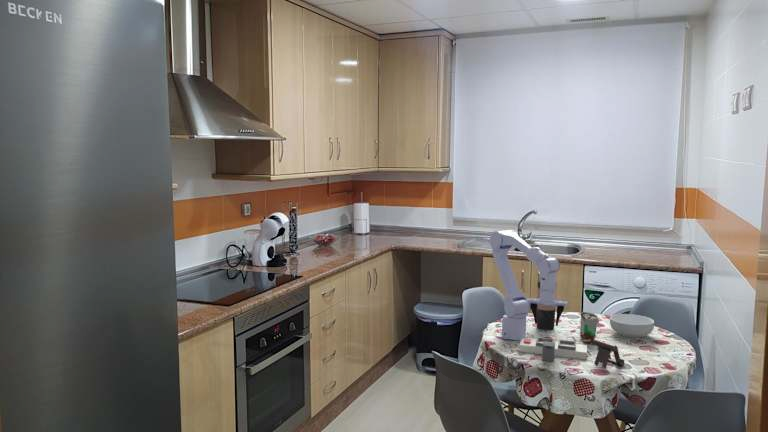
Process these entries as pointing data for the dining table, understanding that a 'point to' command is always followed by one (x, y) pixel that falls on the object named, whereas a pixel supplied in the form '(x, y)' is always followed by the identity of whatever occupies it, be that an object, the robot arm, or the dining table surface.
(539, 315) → the travel mug
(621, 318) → the cereal bowl
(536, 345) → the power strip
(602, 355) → the portable electronic device stand
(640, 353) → the dining table surface
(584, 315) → the food container
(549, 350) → the block
